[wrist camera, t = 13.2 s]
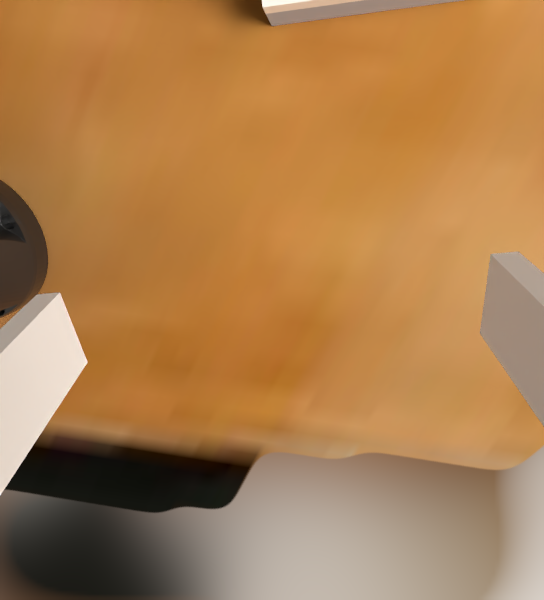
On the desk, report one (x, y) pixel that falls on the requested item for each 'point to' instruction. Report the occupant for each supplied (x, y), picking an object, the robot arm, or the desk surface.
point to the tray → (332, 8)
